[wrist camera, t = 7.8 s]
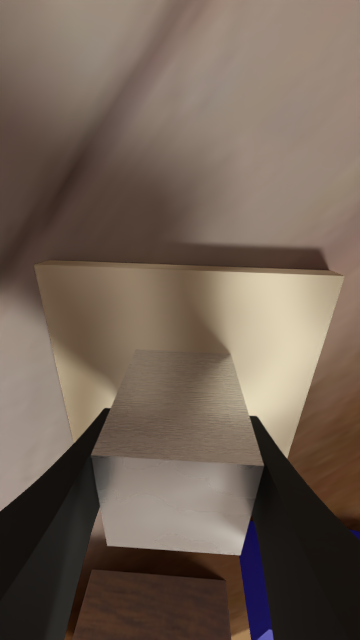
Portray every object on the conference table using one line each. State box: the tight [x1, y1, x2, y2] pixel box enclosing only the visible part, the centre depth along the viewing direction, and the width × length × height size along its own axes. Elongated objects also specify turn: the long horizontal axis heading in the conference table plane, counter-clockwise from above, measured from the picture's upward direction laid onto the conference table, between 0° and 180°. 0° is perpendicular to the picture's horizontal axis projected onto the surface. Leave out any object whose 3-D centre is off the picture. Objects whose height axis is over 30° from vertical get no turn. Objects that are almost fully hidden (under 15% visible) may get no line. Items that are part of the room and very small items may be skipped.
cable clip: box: [239, 521, 360, 640], centre depth 18 cm, size 12×4×6 cm, turn 76°
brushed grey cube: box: [91, 349, 264, 555], centre depth 10 cm, size 5×5×6 cm
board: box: [34, 260, 345, 458], centre depth 14 cm, size 14×14×1 cm
